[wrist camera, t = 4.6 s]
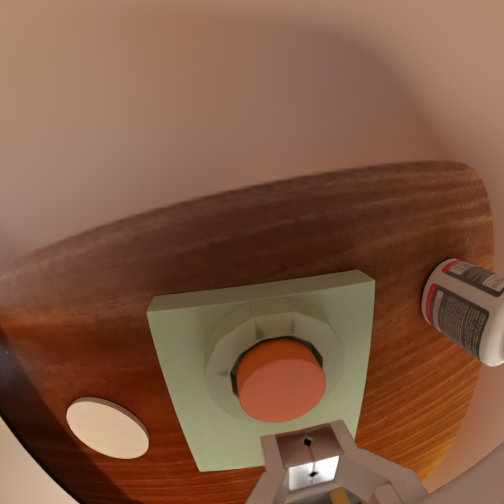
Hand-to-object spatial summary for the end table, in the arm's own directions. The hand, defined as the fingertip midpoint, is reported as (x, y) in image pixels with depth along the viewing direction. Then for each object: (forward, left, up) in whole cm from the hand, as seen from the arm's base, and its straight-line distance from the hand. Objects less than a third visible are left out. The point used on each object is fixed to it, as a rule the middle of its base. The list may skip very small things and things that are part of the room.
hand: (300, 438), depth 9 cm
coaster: (+8, -13, -8) cm, 17 cm away
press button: (0, 0, -5) cm, 5 cm away
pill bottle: (0, +14, -9) cm, 16 cm away
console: (+4, 0, -8) cm, 9 cm away
